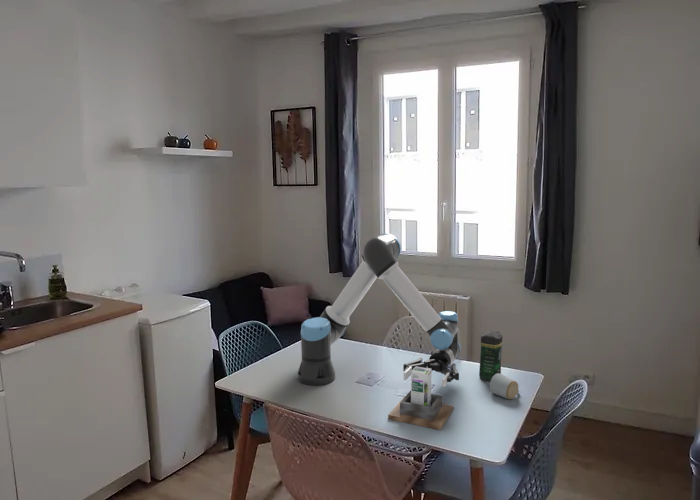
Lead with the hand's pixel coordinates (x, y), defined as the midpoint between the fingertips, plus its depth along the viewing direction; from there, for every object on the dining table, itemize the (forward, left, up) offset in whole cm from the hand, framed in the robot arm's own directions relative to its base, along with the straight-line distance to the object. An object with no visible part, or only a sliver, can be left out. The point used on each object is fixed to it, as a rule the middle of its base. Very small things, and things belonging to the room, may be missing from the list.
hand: (423, 379), depth 180 cm
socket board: (0, -1, -12) cm, 12 cm away
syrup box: (0, -1, -11) cm, 11 cm away
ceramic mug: (+23, +27, -12) cm, 38 cm away
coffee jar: (+15, +42, -12) cm, 46 cm away
